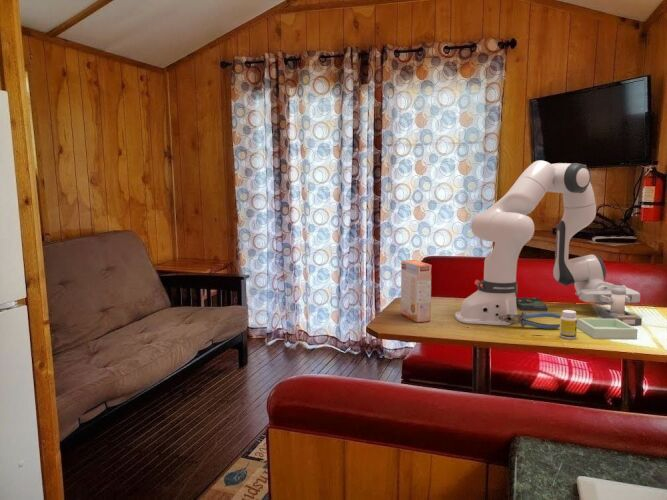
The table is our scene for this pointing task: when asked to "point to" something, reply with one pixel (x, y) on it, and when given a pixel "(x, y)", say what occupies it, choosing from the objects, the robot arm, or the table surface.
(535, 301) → the disk drive
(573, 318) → the supplement bottle
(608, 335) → the tray
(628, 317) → the dark grey tray
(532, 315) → the pliers
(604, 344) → the table surface
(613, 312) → the fuse
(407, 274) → the cracker box
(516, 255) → the robot arm
